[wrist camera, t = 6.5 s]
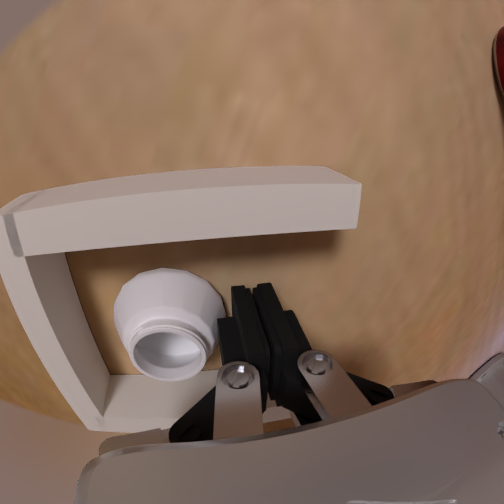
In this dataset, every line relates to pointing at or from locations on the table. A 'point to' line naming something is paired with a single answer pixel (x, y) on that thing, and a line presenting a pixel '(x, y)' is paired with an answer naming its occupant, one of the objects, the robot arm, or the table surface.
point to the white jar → (168, 322)
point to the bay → (138, 233)
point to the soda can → (499, 60)
